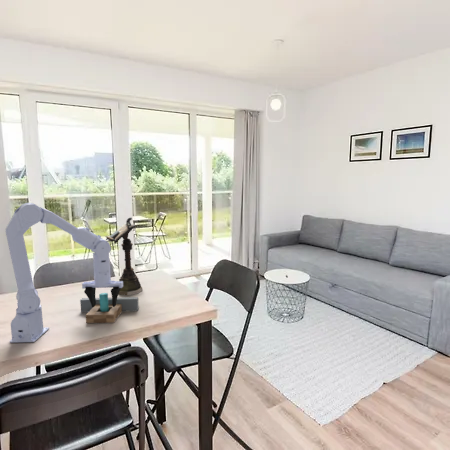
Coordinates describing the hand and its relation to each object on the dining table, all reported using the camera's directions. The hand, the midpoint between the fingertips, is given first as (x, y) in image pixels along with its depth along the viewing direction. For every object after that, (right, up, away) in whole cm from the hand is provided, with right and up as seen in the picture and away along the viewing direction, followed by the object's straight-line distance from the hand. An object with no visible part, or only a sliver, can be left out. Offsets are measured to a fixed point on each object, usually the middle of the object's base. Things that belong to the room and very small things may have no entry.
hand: (104, 306), depth 120 cm
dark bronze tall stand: (-1, -1, +27) cm, 27 cm away
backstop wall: (0, -3, +8) cm, 9 cm away
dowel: (0, -4, +1) cm, 4 cm away
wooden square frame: (0, -4, +1) cm, 4 cm away
